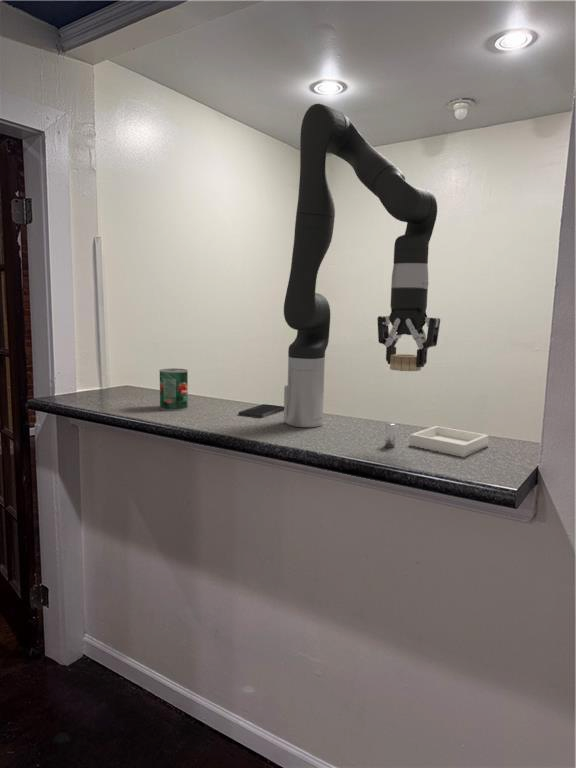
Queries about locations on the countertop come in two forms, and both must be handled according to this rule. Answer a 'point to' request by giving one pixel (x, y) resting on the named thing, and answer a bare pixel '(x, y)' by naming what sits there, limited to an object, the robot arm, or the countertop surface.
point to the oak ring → (403, 362)
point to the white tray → (449, 441)
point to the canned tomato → (173, 389)
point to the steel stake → (390, 435)
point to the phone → (262, 411)
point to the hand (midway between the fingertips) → (405, 365)
